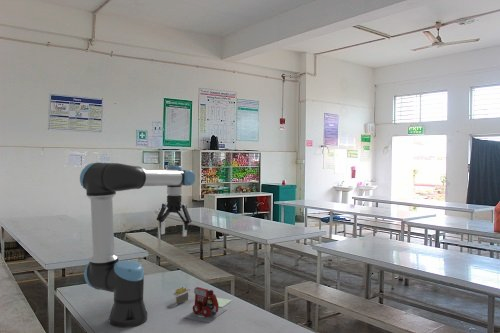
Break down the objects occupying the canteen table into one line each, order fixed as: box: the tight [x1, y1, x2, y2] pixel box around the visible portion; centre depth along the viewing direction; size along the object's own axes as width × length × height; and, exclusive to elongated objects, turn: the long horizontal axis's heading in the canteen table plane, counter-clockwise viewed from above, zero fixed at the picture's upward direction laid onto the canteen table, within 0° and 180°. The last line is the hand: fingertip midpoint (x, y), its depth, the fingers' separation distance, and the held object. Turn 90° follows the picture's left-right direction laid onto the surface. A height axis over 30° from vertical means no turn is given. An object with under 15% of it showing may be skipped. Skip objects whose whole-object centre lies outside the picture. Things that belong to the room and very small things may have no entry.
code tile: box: [183, 307, 227, 324], centre depth 176 cm, size 16×12×1 cm
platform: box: [172, 286, 192, 305], centre depth 190 cm, size 12×18×7 cm, turn 150°
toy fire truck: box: [192, 286, 219, 317], centre depth 176 cm, size 7×12×10 cm, turn 57°
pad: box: [216, 297, 233, 309], centre depth 190 cm, size 10×10×1 cm
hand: (173, 235), depth 214 cm, fingers open, 13 cm apart
